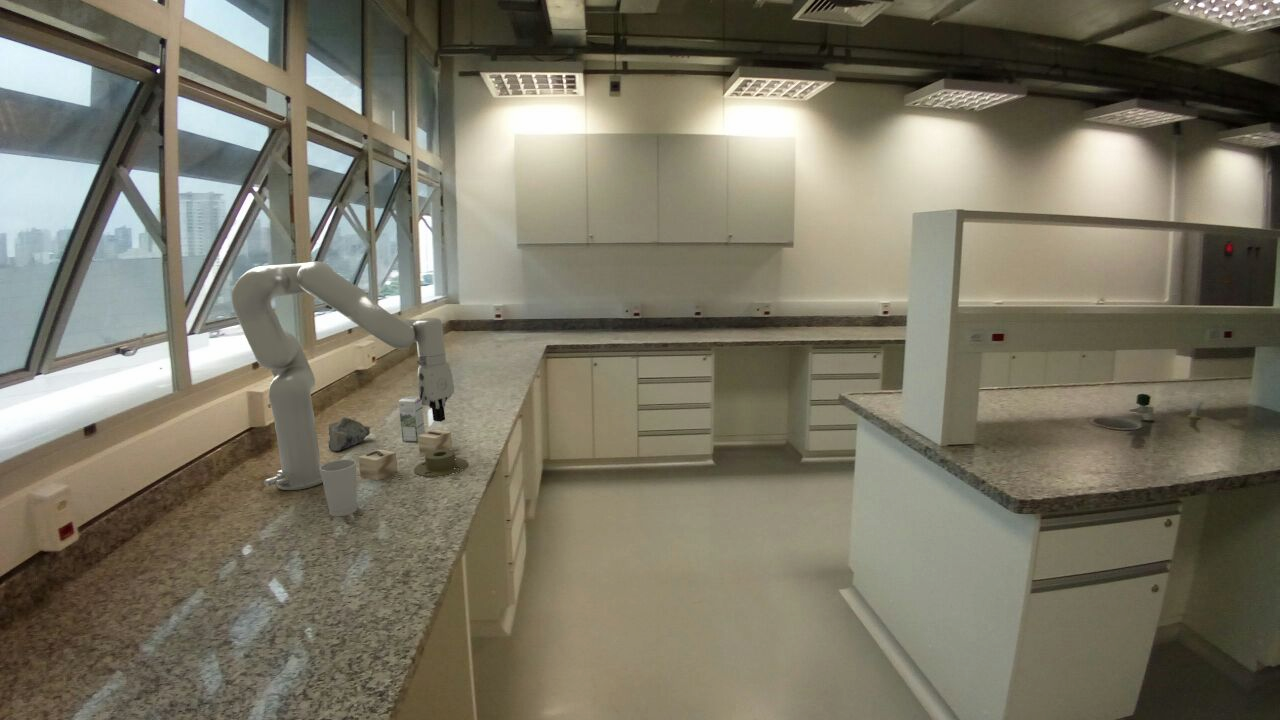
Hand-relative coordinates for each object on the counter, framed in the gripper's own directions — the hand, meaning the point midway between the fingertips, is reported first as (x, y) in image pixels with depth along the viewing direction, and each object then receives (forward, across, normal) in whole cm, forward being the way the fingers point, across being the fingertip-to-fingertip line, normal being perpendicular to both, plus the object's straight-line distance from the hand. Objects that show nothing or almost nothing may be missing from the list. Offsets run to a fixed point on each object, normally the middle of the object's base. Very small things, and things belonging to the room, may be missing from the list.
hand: (439, 420), depth 176 cm
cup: (+13, -36, -1) cm, 38 cm away
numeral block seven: (+13, -15, +10) cm, 22 cm away
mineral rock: (+13, -1, +40) cm, 42 cm away
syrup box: (+13, +12, +26) cm, 31 cm away
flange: (+14, -4, -2) cm, 15 cm away
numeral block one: (+13, +6, +10) cm, 18 cm away
